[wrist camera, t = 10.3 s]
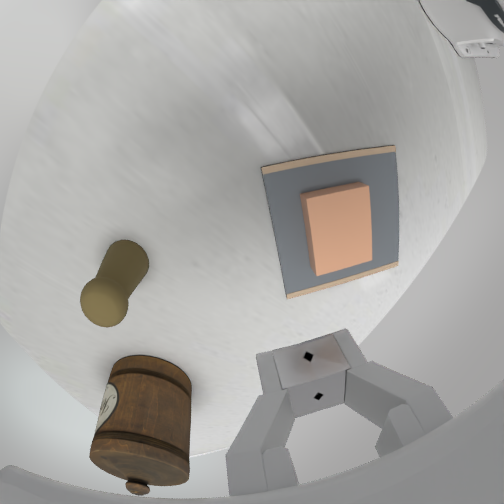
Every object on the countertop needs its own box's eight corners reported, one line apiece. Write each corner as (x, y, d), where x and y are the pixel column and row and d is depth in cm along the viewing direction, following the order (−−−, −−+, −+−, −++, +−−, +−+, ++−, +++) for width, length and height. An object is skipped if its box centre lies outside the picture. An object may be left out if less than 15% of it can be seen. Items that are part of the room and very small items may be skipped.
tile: (299, 193, 32) (359, 181, 32) (310, 267, 36) (363, 252, 36) (306, 198, 30) (368, 185, 30) (316, 276, 34) (372, 260, 34)
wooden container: (102, 350, 39) (66, 465, 19) (188, 356, 41) (185, 486, 21) (122, 401, 45) (106, 496, 25) (194, 406, 47) (197, 508, 27)
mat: (393, 145, 31) (395, 145, 30) (396, 264, 38) (398, 265, 38) (260, 167, 30) (261, 167, 30) (286, 297, 38) (287, 299, 38)
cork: (144, 237, 32) (117, 283, 22) (153, 280, 34) (134, 336, 25) (101, 242, 31) (63, 286, 21) (112, 283, 34) (84, 336, 24)
